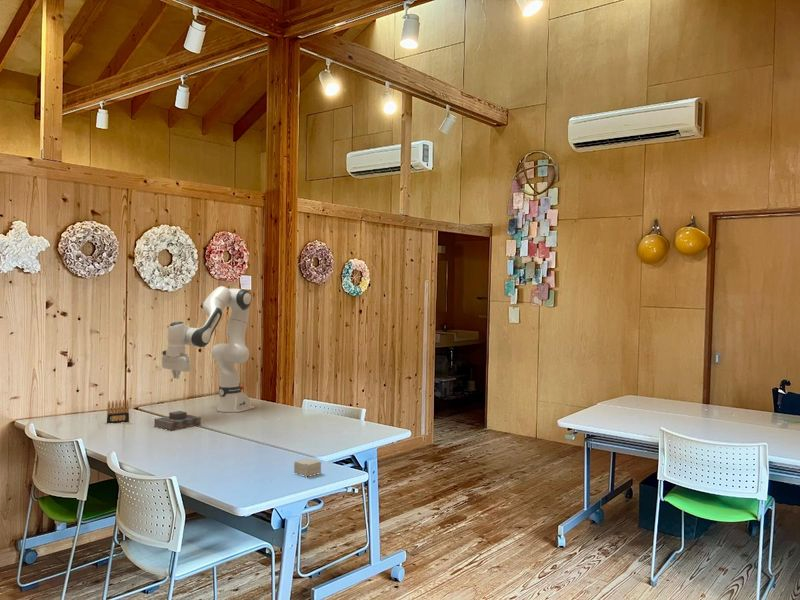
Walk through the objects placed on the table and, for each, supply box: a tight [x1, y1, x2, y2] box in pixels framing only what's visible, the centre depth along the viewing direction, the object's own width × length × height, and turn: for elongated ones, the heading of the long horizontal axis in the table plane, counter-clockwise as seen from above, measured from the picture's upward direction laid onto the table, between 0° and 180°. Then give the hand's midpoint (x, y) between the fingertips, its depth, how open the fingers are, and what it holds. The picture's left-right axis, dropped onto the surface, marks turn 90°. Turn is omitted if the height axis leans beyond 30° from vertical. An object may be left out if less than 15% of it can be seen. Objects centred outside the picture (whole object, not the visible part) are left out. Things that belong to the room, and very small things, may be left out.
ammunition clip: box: [106, 399, 130, 424], centre depth 332 cm, size 11×2×12 cm, turn 121°
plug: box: [168, 410, 188, 420], centre depth 328 cm, size 6×6×6 cm
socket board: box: [153, 413, 202, 432], centre depth 328 cm, size 18×14×5 cm
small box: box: [293, 457, 322, 476], centre depth 252 cm, size 8×8×5 cm
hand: (176, 378), depth 335 cm, fingers closed
